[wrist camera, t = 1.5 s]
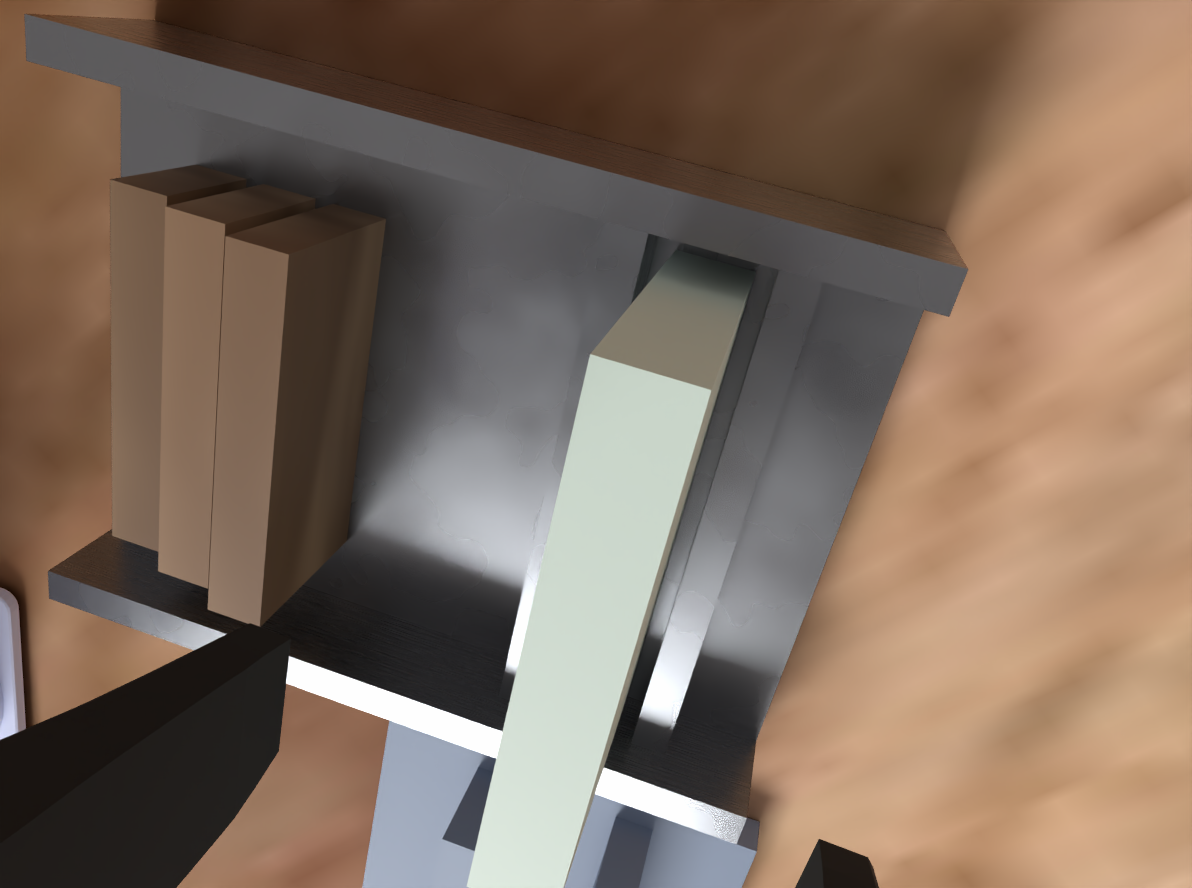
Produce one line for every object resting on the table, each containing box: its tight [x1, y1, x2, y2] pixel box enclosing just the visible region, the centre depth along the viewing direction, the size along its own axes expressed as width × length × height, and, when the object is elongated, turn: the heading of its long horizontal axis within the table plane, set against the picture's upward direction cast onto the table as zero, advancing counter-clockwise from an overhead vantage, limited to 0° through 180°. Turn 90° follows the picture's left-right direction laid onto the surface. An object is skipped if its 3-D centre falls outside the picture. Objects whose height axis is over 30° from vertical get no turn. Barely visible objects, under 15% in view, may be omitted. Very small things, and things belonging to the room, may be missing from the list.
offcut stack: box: [110, 165, 386, 627], centre depth 20 cm, size 4×8×4 cm, turn 168°
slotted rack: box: [25, 14, 968, 844], centre depth 20 cm, size 17×13×4 cm
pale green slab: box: [467, 250, 756, 888], centre depth 17 cm, size 2×10×7 cm, turn 168°
